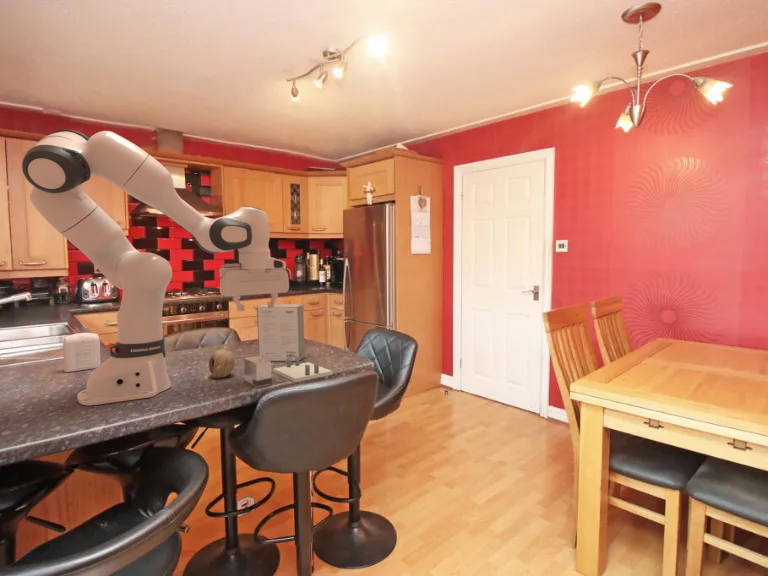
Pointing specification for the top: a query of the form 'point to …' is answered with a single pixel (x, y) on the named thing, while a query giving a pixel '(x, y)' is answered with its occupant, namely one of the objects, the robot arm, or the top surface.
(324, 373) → the pin tray
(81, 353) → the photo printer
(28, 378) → the top surface
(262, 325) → the hard drive box
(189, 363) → the top surface
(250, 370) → the block
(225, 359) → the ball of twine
